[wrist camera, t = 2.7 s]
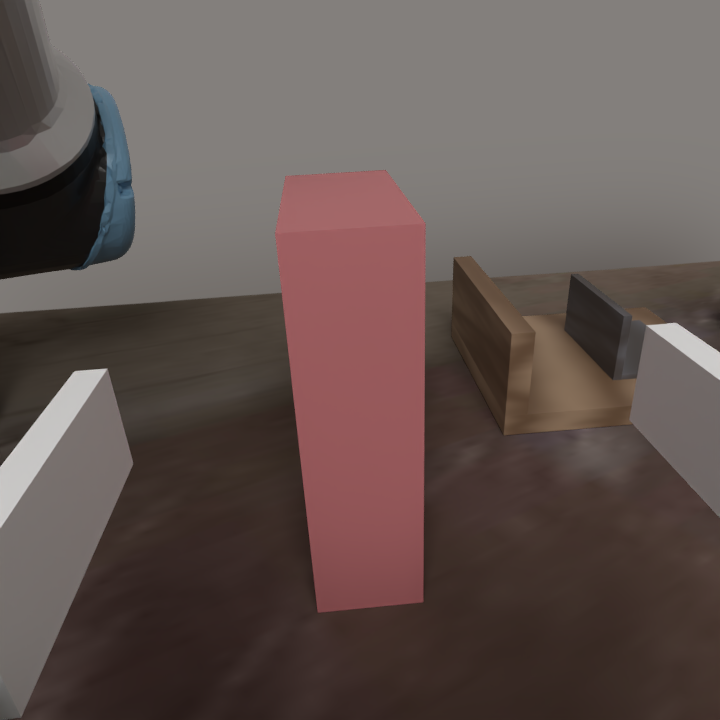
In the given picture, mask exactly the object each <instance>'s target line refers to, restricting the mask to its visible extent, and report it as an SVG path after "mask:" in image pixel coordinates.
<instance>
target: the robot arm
mask: <svg viewBox="0 0 720 720" xmlns="http://www.w3.org/2000/svg"><path fill="white" fill-rule="evenodd" d="M131 183H132V176H131V164H130V157H129V151H128V146H127V141H126V136H125V132H124V127H123V124H122V120H121V117H120V114H119V110H118V108H117V105H116V103H115V100H114V99H113V97H112V95H111V94H110V93H109V92H108V91H107V90H105V89H104V88H102V87H97V86H92V85H90V84H87V82H86V80H85V78H84V76H83V75H82V73H81V72H80V70H79V69H78V67H77V66H76V65H75V64H74V63H73V62H72V61H71V60H70V59H69V58H68V57H67V56H66V55H65V54H63V53H62V52H61V51H60V50H58V49H57V48H56V47H54V46H52V45H51V43H50V39H49V36H48V32H47V28H46V24H45V20H44V16H43V13H42V8H41V5H40V1H39V0H0V279H6V278H13V277H19V276H25V275H31V274H38V273H45V272H52V271H59V270H66V269H71V270H82V269H85V268H87V267H88V266H89V265H93V264H98V263H103V262H107V261H112V260H116V259H118V258H120V257H122V256H123V255H124V254H125V253H126V252H127V251H128V250H129V248H130V247H131V244H132V241H133V238H134V231H135V202H134V193H133V190H132V187H131ZM629 420H630V421H631V422H632V423H633V425H634V426H635V427H636V428H637V429H638V430H639V431H640V432H641V433H642V434H643V435H644V436H645V437H646V439H647V440H648V441H649V442H650V443H651V444H652V445H653V446H654V447H655V448H656V449H657V450H658V451H659V453H660V454H661V455H662V456H663V457H664V458H665V459H666V460H667V461H668V462H669V463H670V464H671V466H672V467H673V468H674V469H675V470H676V471H677V472H678V473H679V474H680V475H681V476H682V477H683V478H684V480H685V481H686V482H687V483H688V484H689V485H690V486H691V487H692V488H693V489H694V490H695V491H696V493H697V494H698V495H699V496H700V497H701V498H702V499H703V500H704V501H705V502H706V503H707V504H708V505H709V507H710V508H711V509H712V510H713V511H714V512H715V513H716V514H717V515H718V516H719V517H720V352H718V351H717V350H715V349H714V348H712V347H711V346H709V345H708V344H706V343H705V342H703V341H702V340H700V339H699V338H698V337H696V336H695V335H693V334H692V333H690V332H689V331H687V330H686V329H684V328H683V327H681V326H680V325H678V324H677V323H670V324H658V325H646V330H645V335H644V341H643V347H642V352H641V358H640V363H639V369H638V374H637V380H636V385H635V391H634V396H633V402H632V407H631V413H630V419H629ZM132 466H133V461H132V457H131V453H130V449H129V446H128V442H127V438H126V435H125V431H124V427H123V424H122V420H121V416H120V413H119V409H118V405H117V402H116V398H115V394H114V390H113V387H112V383H111V379H110V376H109V372H108V369H96V370H84V371H74V373H73V374H72V375H71V376H70V378H69V379H68V380H67V382H66V383H65V384H64V385H63V387H62V388H61V389H60V391H59V392H58V393H57V394H56V396H55V397H54V398H53V400H52V401H51V402H50V404H49V405H48V406H47V407H46V409H45V410H44V411H43V413H42V414H41V415H40V416H39V418H38V419H37V420H36V422H35V423H34V424H33V425H32V427H31V428H30V429H29V431H28V432H27V433H26V434H25V436H24V437H23V438H22V440H21V441H20V442H19V444H18V445H17V446H16V447H15V449H14V450H13V451H12V453H11V454H10V455H9V456H8V458H7V459H6V460H5V462H4V463H3V464H2V465H1V467H0V720H3V719H12V718H21V717H22V714H23V712H24V710H25V708H26V705H27V703H28V701H29V699H30V696H31V694H32V692H33V690H34V687H35V685H36V683H37V681H38V678H39V676H40V674H41V671H42V669H43V667H44V665H45V662H46V660H47V658H48V656H49V653H50V651H51V649H52V647H53V644H54V642H55V640H56V638H57V635H58V633H59V631H60V629H61V626H62V624H63V622H64V619H65V617H66V615H67V613H68V610H69V608H70V606H71V604H72V601H73V599H74V597H75V595H76V592H77V590H78V588H79V586H80V583H81V581H82V579H83V577H84V574H85V572H86V570H87V567H88V565H89V563H90V561H91V558H92V556H93V554H94V552H95V549H96V547H97V545H98V543H99V540H100V538H101V536H102V534H103V531H104V529H105V527H106V525H107V522H108V520H109V518H110V515H111V513H112V511H113V509H114V506H115V504H116V502H117V500H118V497H119V495H120V493H121V491H122V488H123V486H124V484H125V482H126V479H127V477H128V475H129V472H130V470H131V468H132Z"/></svg>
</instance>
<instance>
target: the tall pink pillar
mask: <svg viewBox="0 0 720 720" xmlns="http://www.w3.org/2000/svg"><path fill="white" fill-rule="evenodd" d="M275 236H276V244H277V253H278V263H279V272H280V280H281V289H282V298H283V307H284V316H285V325H286V334H287V343H288V352H289V361H290V370H291V379H292V388H293V397H294V406H295V414H296V423H297V432H298V441H299V450H300V459H301V468H302V477H303V486H304V495H305V504H306V513H307V522H308V531H309V540H310V549H311V557H312V566H313V575H314V584H315V593H316V602H317V611H318V613H320V612H330V611H340V610H350V609H360V608H370V607H381V606H391V605H401V604H411V603H421V602H423V572H424V398H425V222H424V221H423V219H422V218H421V217H420V215H419V214H418V213H417V212H416V210H415V209H414V207H413V206H412V205H411V203H410V202H409V201H408V199H407V198H406V197H405V195H404V194H403V193H402V191H401V190H400V189H399V187H398V186H397V185H396V183H395V182H394V181H393V179H392V178H391V176H390V175H389V174H388V172H387V171H386V170H378V171H361V172H345V173H328V174H312V175H295V176H286V177H285V182H284V188H283V193H282V199H281V204H280V210H279V215H278V221H277V227H276V232H275Z"/></svg>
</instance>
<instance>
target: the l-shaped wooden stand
mask: <svg viewBox="0 0 720 720" xmlns="http://www.w3.org/2000/svg"><path fill="white" fill-rule="evenodd" d="M453 265H454V266H453V299H452V334H451V337H452V339H453V341H454V343H455V344H456V346H457V348H458V350H459V352H460V354H461V356H462V358H463V360H464V361H465V363H466V365H467V367H468V369H469V371H470V373H471V375H472V376H473V378H474V380H475V382H476V384H477V386H478V388H479V390H480V392H481V393H482V395H483V397H484V399H485V401H486V403H487V405H488V407H489V408H490V410H491V412H492V414H493V416H494V418H495V420H496V422H497V424H498V425H499V427H500V429H501V431H502V433H503V435H513V434H525V433H537V432H548V431H560V430H572V429H584V428H595V427H607V426H619V425H631V424H633V423H632V422H631V421H630V420H629V419H630V413H631V407H632V402H633V396H634V391H635V385H636V380H637V374H638V369H639V363H640V358H641V352H642V347H643V341H644V335H645V330H646V325H658V324H667V323H666V322H665V321H663V320H662V319H660V318H659V317H658V316H656V315H655V314H654V313H652V312H651V311H649V310H648V309H647V308H645V307H643V308H629V309H623V308H622V307H621V306H619V305H618V304H617V303H615V302H614V301H613V300H611V299H610V298H609V297H608V296H606V295H605V294H604V293H602V292H601V291H600V290H599V289H597V288H596V287H595V286H593V285H592V284H591V283H590V282H588V281H587V280H586V279H584V278H583V277H582V276H580V275H579V274H571V280H570V288H569V296H568V304H567V312H566V313H562V314H549V315H535V316H522V315H521V314H520V313H519V312H518V311H517V310H516V308H515V307H514V306H513V305H512V304H511V303H510V301H509V300H508V299H507V298H506V297H505V296H504V294H503V293H502V292H501V291H500V290H499V289H498V287H497V286H496V285H495V284H494V283H493V281H492V280H491V279H490V278H489V277H488V276H487V275H486V273H485V272H484V271H483V270H482V269H481V268H480V266H479V265H478V264H477V263H476V262H475V260H474V259H473V258H472V257H471V256H467V257H454V264H453Z"/></svg>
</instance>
